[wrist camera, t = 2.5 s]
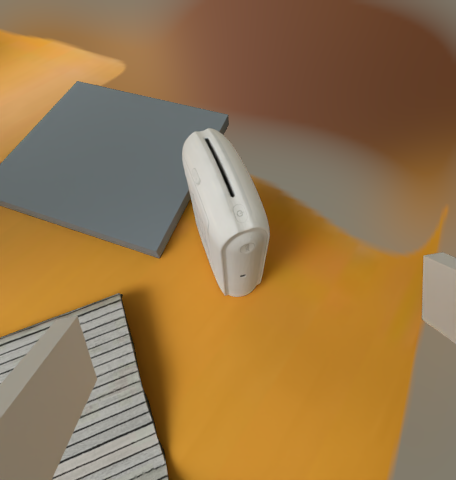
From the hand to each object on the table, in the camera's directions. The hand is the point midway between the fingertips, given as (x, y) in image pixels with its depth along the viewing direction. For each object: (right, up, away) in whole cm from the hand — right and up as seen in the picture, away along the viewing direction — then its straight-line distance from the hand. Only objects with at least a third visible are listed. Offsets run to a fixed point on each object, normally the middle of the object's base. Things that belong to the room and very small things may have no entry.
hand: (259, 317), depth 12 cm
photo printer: (-1, +2, +19) cm, 19 cm away
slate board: (-15, +13, +26) cm, 32 cm away
